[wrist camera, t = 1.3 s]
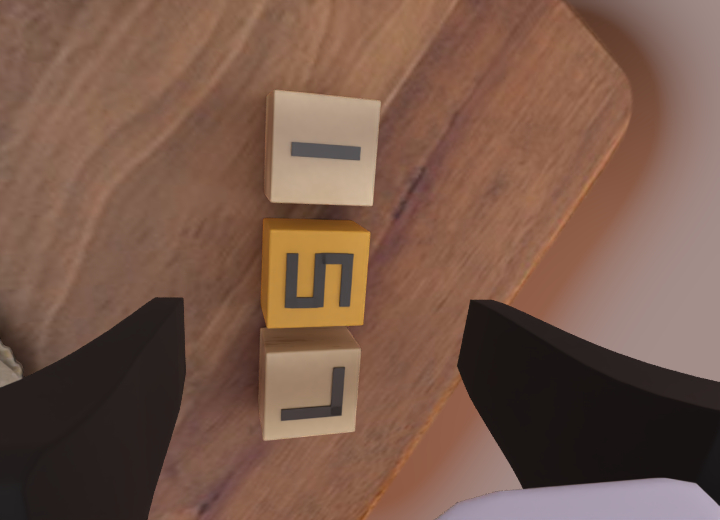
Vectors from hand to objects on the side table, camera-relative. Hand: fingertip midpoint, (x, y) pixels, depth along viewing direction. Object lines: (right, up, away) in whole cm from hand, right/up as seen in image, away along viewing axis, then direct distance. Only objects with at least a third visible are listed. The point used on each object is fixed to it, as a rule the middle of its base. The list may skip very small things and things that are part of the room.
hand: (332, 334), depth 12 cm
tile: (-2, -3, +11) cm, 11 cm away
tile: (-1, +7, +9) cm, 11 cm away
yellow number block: (-2, +2, +10) cm, 10 cm away
